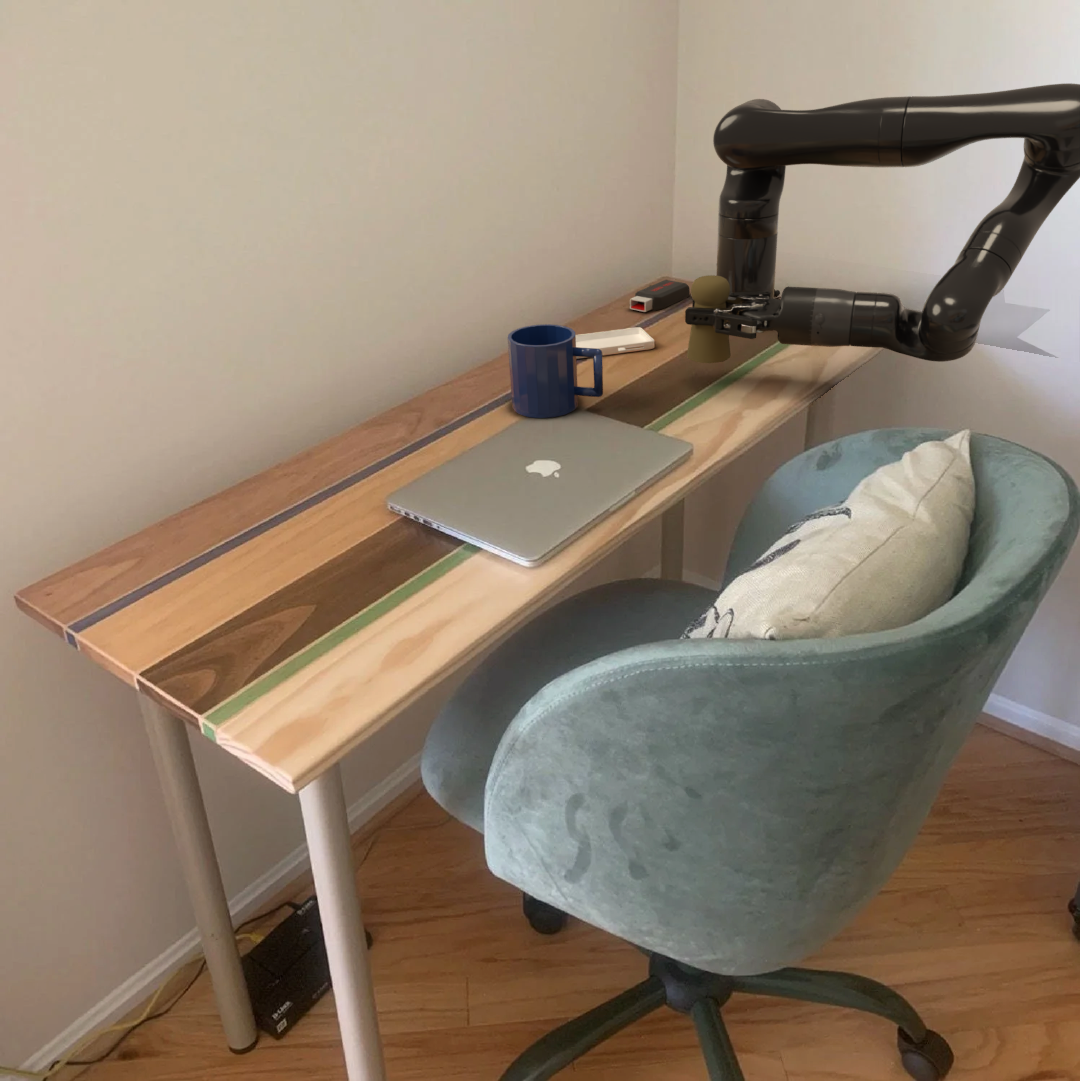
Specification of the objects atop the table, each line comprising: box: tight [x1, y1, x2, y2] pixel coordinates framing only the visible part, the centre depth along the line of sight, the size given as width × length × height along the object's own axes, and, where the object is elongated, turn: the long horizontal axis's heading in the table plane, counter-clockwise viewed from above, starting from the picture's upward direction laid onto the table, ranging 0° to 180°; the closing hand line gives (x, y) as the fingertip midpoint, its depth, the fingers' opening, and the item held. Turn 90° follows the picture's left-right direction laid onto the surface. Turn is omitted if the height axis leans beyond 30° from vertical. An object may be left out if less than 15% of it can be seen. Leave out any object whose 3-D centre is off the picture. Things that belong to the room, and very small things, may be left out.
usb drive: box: [629, 279, 691, 313], centre depth 179 cm, size 5×12×3 cm, turn 140°
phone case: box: [576, 326, 656, 360], centre depth 161 cm, size 7×1×15 cm
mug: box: [507, 323, 604, 419], centre depth 139 cm, size 13×9×10 cm
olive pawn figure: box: [686, 274, 731, 364], centre depth 142 cm, size 6×6×11 cm
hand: (690, 310), depth 142 cm, fingers closed on olive pawn figure, 4 cm apart
